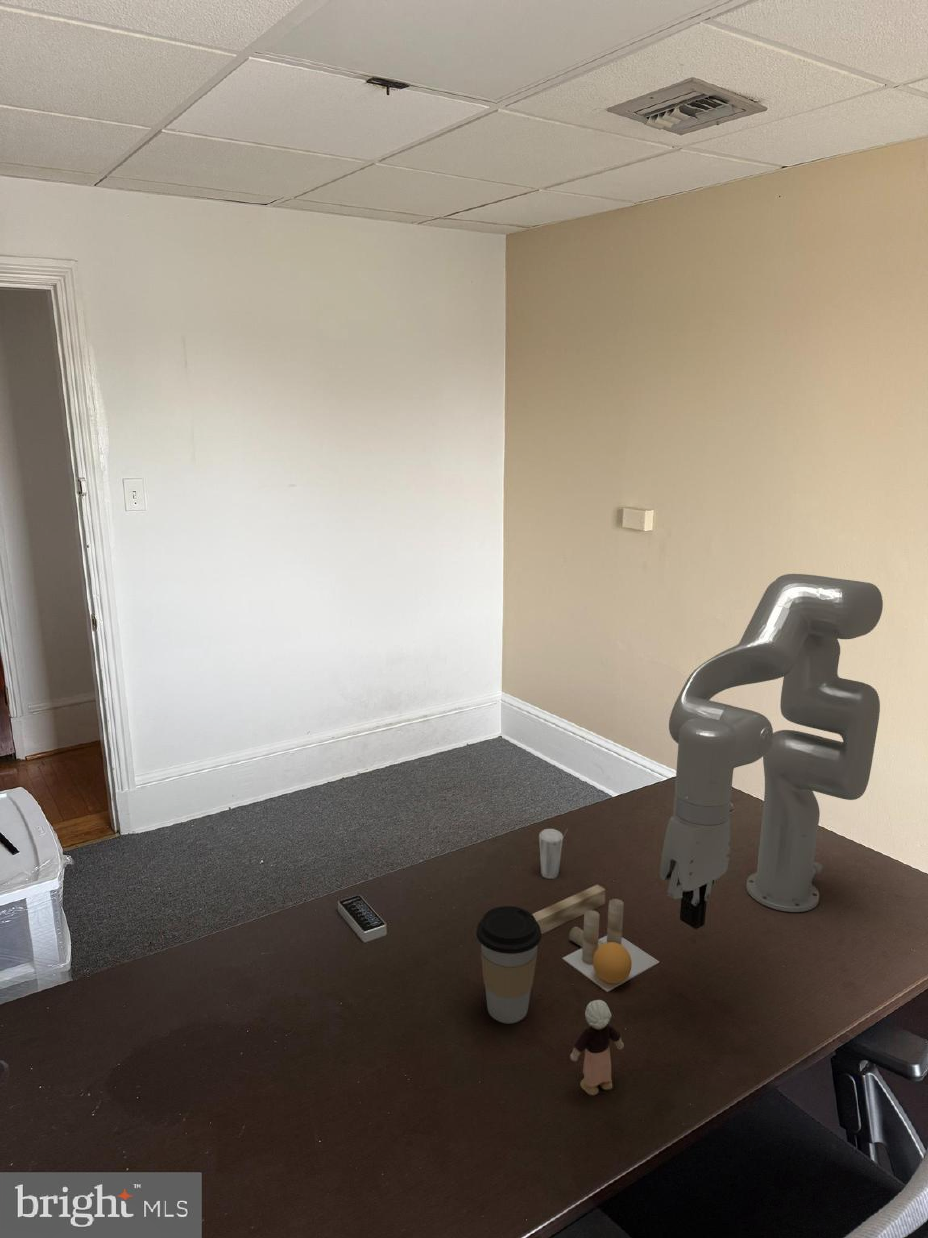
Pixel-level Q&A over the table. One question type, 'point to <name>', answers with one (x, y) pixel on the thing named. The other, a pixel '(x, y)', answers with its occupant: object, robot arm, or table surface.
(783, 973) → the table surface
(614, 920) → the right pin
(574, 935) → the front pin
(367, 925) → the multiport hub
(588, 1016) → the grandmother figurine
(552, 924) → the back rail
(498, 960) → the coffee cup
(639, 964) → the pin deck mark
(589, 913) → the left pin
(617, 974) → the ball
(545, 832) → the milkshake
